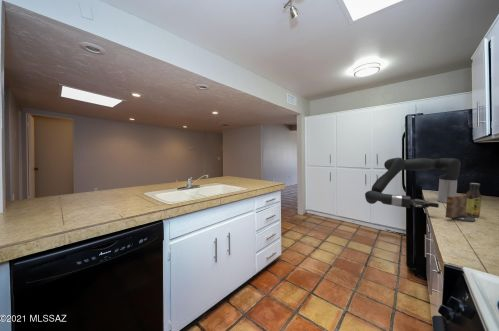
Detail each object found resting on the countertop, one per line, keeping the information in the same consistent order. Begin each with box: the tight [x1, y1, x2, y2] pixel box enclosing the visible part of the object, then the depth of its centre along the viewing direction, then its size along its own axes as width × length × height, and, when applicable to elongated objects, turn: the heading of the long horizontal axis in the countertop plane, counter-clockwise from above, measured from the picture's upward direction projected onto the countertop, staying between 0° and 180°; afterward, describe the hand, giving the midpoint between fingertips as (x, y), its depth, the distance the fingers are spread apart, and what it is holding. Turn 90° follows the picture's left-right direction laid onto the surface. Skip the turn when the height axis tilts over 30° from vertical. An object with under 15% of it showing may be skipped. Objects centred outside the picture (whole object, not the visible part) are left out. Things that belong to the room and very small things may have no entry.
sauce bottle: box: [465, 182, 482, 218], centre depth 112 cm, size 6×6×20 cm
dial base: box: [450, 215, 476, 223], centre depth 109 cm, size 11×11×1 cm
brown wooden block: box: [445, 194, 467, 219], centre depth 107 cm, size 13×4×12 cm, turn 105°
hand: (438, 205), depth 110 cm, fingers closed
